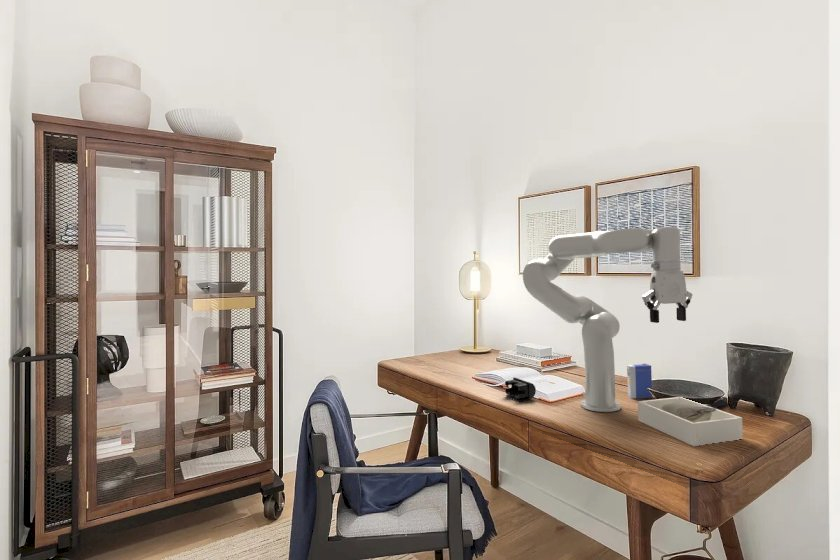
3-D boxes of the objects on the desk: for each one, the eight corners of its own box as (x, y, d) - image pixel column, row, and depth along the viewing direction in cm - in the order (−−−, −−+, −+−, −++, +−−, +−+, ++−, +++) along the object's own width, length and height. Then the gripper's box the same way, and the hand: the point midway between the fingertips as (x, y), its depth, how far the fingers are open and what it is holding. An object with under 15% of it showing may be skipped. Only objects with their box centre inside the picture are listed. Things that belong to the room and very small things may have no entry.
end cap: (536, 400, 167) (535, 381, 167) (520, 402, 164) (519, 384, 164) (520, 393, 176) (519, 376, 176) (504, 396, 173) (504, 378, 173)
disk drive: (695, 398, 163) (673, 406, 155) (695, 391, 163) (673, 397, 155) (727, 405, 155) (706, 413, 147) (727, 397, 155) (706, 404, 147)
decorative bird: (668, 417, 140) (667, 393, 139) (723, 433, 125) (722, 406, 125) (656, 421, 137) (656, 396, 137) (711, 437, 123) (711, 410, 123)
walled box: (638, 420, 141) (637, 401, 141) (681, 415, 144) (681, 396, 144) (693, 446, 120) (693, 423, 120) (742, 439, 123) (742, 417, 123)
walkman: (648, 395, 167) (647, 363, 167) (652, 397, 164) (651, 364, 164) (626, 396, 167) (626, 363, 167) (630, 398, 164) (629, 365, 164)
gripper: (651, 267, 137) (652, 324, 137) (699, 265, 140) (701, 321, 140) (634, 268, 144) (635, 321, 144) (681, 266, 147) (682, 318, 148)
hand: (668, 321), depth 142 cm, fingers open, 9 cm apart
